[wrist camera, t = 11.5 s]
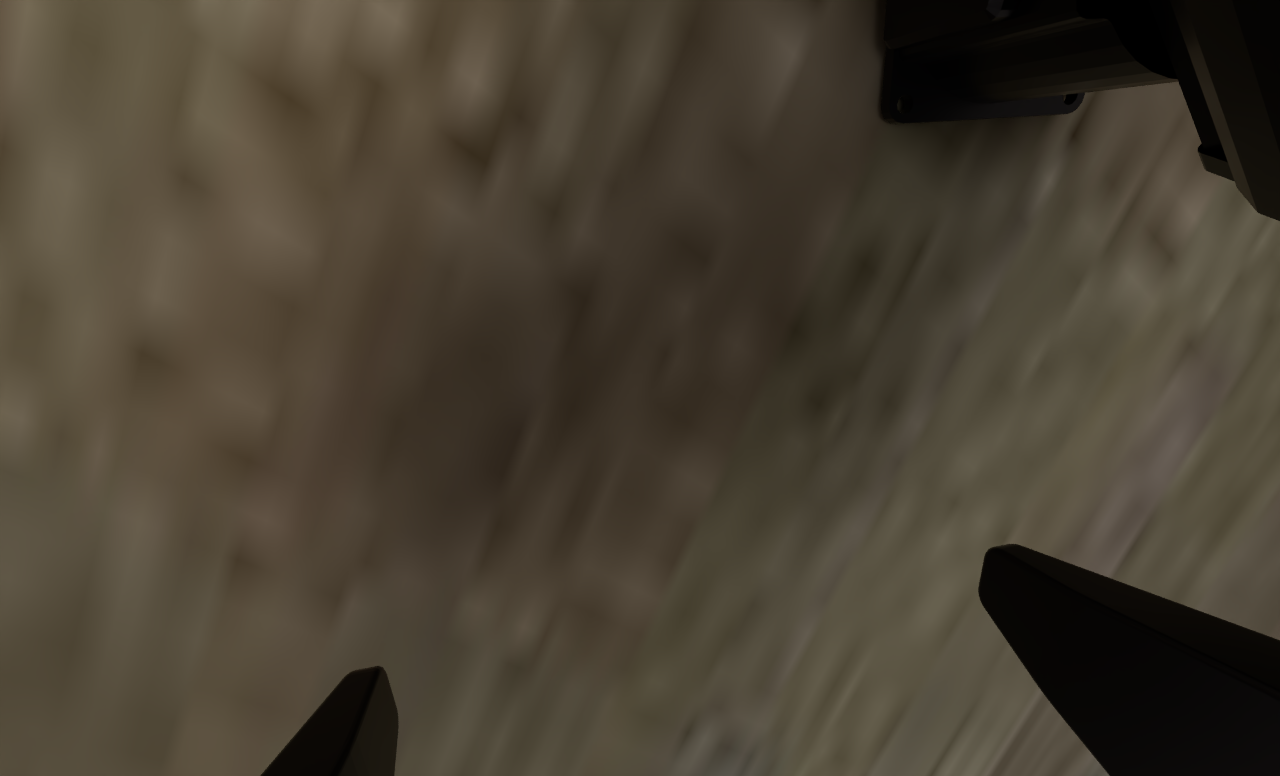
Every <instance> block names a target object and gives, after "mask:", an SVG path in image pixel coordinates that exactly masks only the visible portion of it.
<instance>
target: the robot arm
mask: <svg viewBox="0 0 1280 776" xmlns="http://www.w3.org/2000/svg"><path fill="white" fill-rule="evenodd" d="M884 41H885V43H886V57H885V68H884V80H883V91H882V103H881V110H882V115H883V117H884V119H885V120H886V121H887V122H889V123H892V124H905V123H922V122H940V121H957V120H974V119H991V118H1008V117H1025V116H1043V115H1059V114H1068V113H1071V112H1073V111H1075V110H1076V109H1077V108H1078V107H1079V106H1080V104H1081V103H1082V101H1083V98H1084V95H1085V92H1093V91H1101V90H1110V89H1118V88H1127V87H1135V86H1144V85H1152V84H1161V83H1170V82H1178V81H1179V84H1180V87H1181V89H1182V92H1183V95H1184V97H1185V100H1186V103H1187V105H1188V108H1189V111H1190V113H1191V116H1192V119H1193V121H1194V124H1195V127H1196V129H1197V132H1198V135H1199V137H1200V140H1201V143H1202V144H1201V145H1200V146H1199V147H1198V153H1199V156H1200V158H1201V161H1202V164H1203V166H1204V169H1205V170H1206V171H1208V172H1211V173H1214V174H1216V175H1219V176H1222V177H1225V178H1227V179H1230V180H1233V181H1235V183H1236V186H1237V188H1238V190H1239V191H1240V192H1241V193H1242V194H1243V196H1244V197H1245V198H1246V199H1247V200H1248V202H1249V203H1250V204H1251V205H1252V206H1253V207H1254V209H1255V210H1256V211H1257V212H1258V213H1260V214H1263V215H1265V216H1268V217H1270V218H1273V219H1276V220H1278V221H1280V0H887V6H886V18H885V30H884ZM1063 95H1066V99H1065V101H1064V102H1063ZM900 97H902V98H903V99H904V102H905V106H904V109H903V111H902V112H901V113H900V112H899V111H898V109H897V103H898V100H899V98H900ZM978 592H979V597H980V600H981V603H982V605H983V606H984V608H985V610H986V611H987V612H988V614H989V615H990V617H991V618H992V620H993V621H994V623H995V624H996V626H997V627H998V629H999V630H1000V631H1001V633H1002V634H1003V636H1004V637H1005V639H1006V640H1007V642H1008V643H1009V645H1010V646H1011V647H1012V649H1013V650H1014V652H1015V653H1016V655H1017V656H1018V658H1019V659H1020V661H1021V662H1022V663H1023V665H1024V666H1025V668H1026V669H1027V671H1028V672H1029V674H1030V675H1031V677H1032V678H1033V680H1034V681H1035V682H1036V684H1037V685H1038V687H1039V688H1040V689H1041V691H1042V692H1043V693H1044V695H1045V696H1046V698H1047V699H1048V700H1049V701H1050V703H1051V704H1052V705H1053V707H1054V708H1055V709H1056V710H1057V712H1058V713H1059V714H1060V715H1061V717H1062V718H1063V719H1064V720H1065V721H1066V723H1067V724H1068V725H1069V726H1070V728H1071V729H1072V730H1073V731H1074V732H1075V734H1076V735H1077V736H1078V737H1079V739H1080V740H1081V741H1082V742H1083V744H1084V745H1085V746H1086V747H1087V748H1088V750H1089V751H1090V752H1091V753H1092V755H1093V756H1094V757H1095V758H1096V759H1097V761H1098V762H1099V763H1100V764H1101V766H1102V767H1103V768H1104V769H1105V770H1106V772H1107V773H1108V774H1109V775H1110V776H1280V640H1277V639H1275V638H1272V637H1269V636H1267V635H1264V634H1261V633H1258V632H1256V631H1253V630H1250V629H1247V628H1245V627H1242V626H1239V625H1236V624H1234V623H1231V622H1228V621H1226V620H1223V619H1220V618H1217V617H1215V616H1212V615H1209V614H1206V613H1204V612H1201V611H1198V610H1196V609H1193V608H1190V607H1187V606H1185V605H1182V604H1179V603H1176V602H1174V601H1171V600H1168V599H1165V598H1163V597H1160V596H1157V595H1155V594H1152V593H1149V592H1146V591H1144V590H1141V589H1138V588H1135V587H1133V586H1130V585H1127V584H1124V583H1122V582H1119V581H1116V580H1114V579H1111V578H1108V577H1105V576H1103V575H1100V574H1097V573H1094V572H1092V571H1089V570H1086V569H1084V568H1081V567H1078V566H1075V565H1073V564H1070V563H1067V562H1064V561H1062V560H1059V559H1056V558H1053V557H1051V556H1048V555H1045V554H1043V553H1040V552H1037V551H1034V550H1032V549H1029V548H1026V547H1023V546H1021V545H1018V544H1007V545H1001V546H996V547H992V548H990V549H988V551H987V552H986V554H985V557H984V562H983V567H982V572H981V577H980V582H979V588H978ZM397 738H398V712H397V707H396V704H395V701H394V697H393V694H392V690H391V687H390V683H389V680H388V677H387V674H386V671H385V670H384V668H383V667H380V666H375V667H370V668H365V669H360V670H355V671H352V672H350V673H349V674H347V675H346V676H345V677H344V678H343V679H342V681H341V682H340V683H339V684H338V685H337V686H336V688H335V689H334V690H333V691H332V692H331V693H330V695H329V696H328V697H327V698H326V699H325V701H324V702H323V703H322V704H321V705H320V706H319V708H318V709H317V710H316V711H315V712H314V713H313V715H312V716H311V717H310V718H309V719H308V720H307V722H306V723H305V724H304V725H303V726H302V727H301V729H300V730H299V731H298V732H297V733H296V735H295V736H294V737H293V738H292V739H291V740H290V742H289V743H288V744H287V745H286V746H285V747H284V749H283V750H282V751H281V752H280V753H279V754H278V756H277V757H276V758H275V759H274V760H273V761H272V763H271V764H270V765H269V766H268V767H267V769H266V770H265V771H264V772H263V773H262V774H261V776H394V771H395V760H396V749H397Z"/></svg>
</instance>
